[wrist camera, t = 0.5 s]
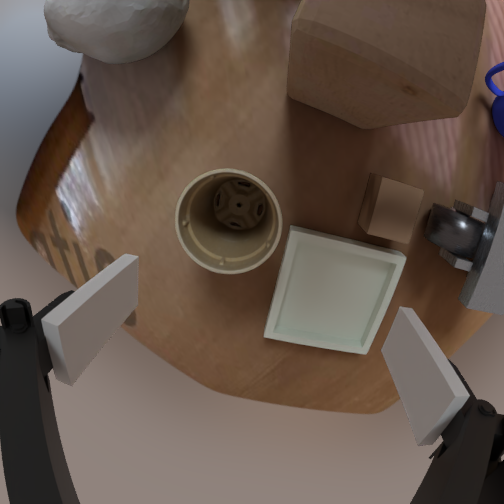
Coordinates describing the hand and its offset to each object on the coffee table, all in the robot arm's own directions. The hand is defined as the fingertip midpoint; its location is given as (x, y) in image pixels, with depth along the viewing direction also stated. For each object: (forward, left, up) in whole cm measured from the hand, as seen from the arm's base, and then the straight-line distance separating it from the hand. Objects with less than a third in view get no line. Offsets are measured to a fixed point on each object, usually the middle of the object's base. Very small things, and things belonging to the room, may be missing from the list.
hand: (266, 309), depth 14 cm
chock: (-4, +12, -21) cm, 25 cm away
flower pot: (0, -4, -21) cm, 22 cm away
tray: (+8, +9, -21) cm, 24 cm away
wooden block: (-17, +4, -21) cm, 28 cm away
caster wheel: (-4, +22, -21) cm, 31 cm away
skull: (-21, -22, -21) cm, 37 cm away
